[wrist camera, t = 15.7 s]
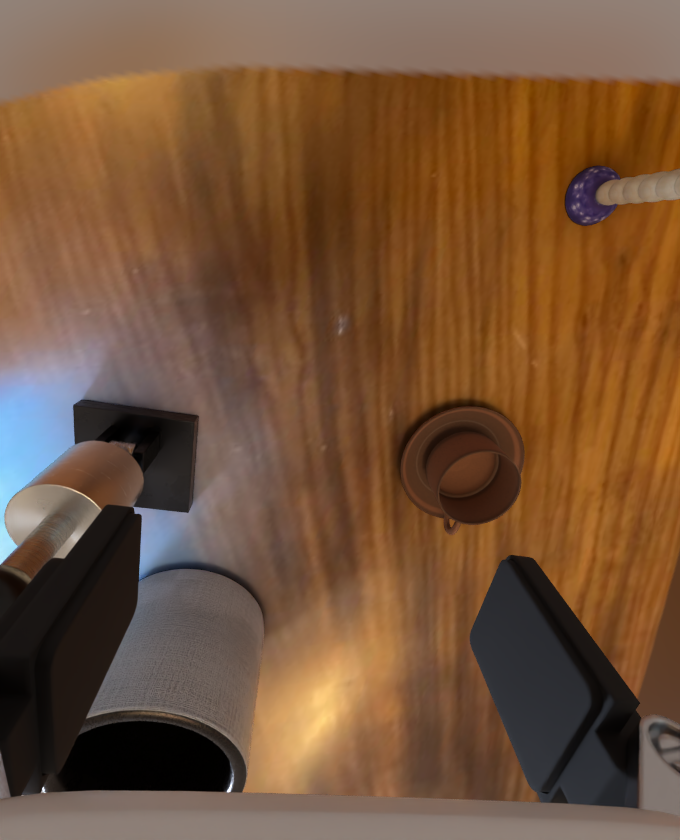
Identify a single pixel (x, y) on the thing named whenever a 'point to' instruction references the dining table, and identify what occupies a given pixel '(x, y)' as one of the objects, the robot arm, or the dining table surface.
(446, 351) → the dining table surface
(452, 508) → the cup and saucer
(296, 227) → the dining table surface
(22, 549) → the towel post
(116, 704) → the planter
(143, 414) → the dark grey lever base
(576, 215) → the toy lamp
